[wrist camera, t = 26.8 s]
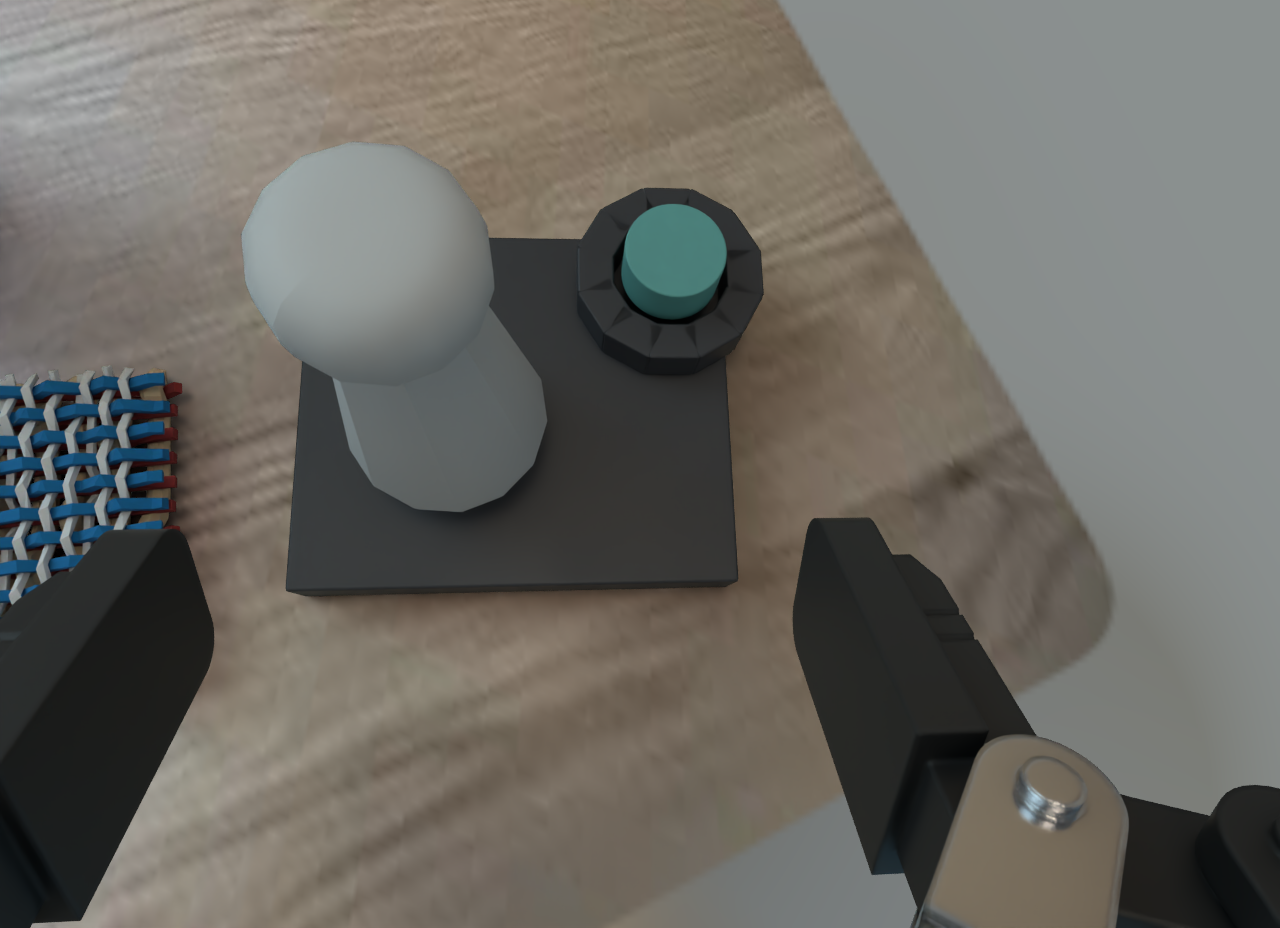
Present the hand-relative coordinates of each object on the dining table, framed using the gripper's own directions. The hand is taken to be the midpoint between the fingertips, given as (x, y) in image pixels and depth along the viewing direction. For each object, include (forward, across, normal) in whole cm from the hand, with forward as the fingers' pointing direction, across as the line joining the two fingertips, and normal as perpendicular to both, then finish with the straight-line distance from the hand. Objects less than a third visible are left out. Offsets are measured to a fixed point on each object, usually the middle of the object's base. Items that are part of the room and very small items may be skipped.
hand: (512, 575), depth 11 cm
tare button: (+17, +4, -2) cm, 18 cm away
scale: (+17, -1, -7) cm, 18 cm away
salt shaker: (+15, -3, -6) cm, 16 cm away
